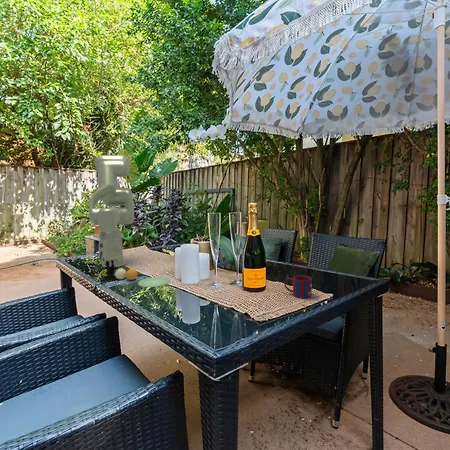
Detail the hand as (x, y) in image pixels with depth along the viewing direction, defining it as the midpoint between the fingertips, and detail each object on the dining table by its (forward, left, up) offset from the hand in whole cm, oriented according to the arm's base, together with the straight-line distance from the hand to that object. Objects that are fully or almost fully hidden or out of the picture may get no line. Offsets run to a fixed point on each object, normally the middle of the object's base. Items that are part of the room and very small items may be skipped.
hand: (111, 274), depth 144 cm
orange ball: (+11, 0, +1) cm, 11 cm away
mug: (+85, +2, -2) cm, 85 cm away
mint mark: (+23, 0, -2) cm, 24 cm away
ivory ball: (+6, 0, +1) cm, 6 cm away
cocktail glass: (+58, +31, -2) cm, 66 cm away
